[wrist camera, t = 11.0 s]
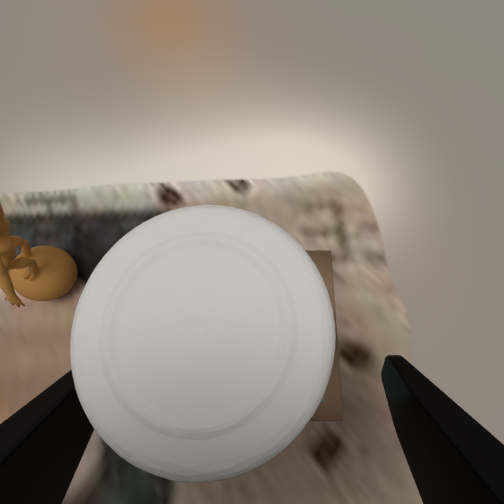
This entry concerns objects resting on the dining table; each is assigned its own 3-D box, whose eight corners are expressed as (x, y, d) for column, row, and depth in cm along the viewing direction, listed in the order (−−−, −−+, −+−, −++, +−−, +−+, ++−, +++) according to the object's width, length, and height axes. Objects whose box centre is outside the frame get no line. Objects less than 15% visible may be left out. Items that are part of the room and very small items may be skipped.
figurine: (23, 248, 23) (-211, 167, 12) (90, 212, 24) (-71, 101, 13) (59, 338, 21) (-185, 346, 10) (131, 295, 22) (-18, 255, 10)
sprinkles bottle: (279, 289, 18) (314, 179, 5) (290, 365, 17) (375, 476, 4) (207, 298, 18) (63, 214, 5) (214, 375, 17) (45, 516, 4)
